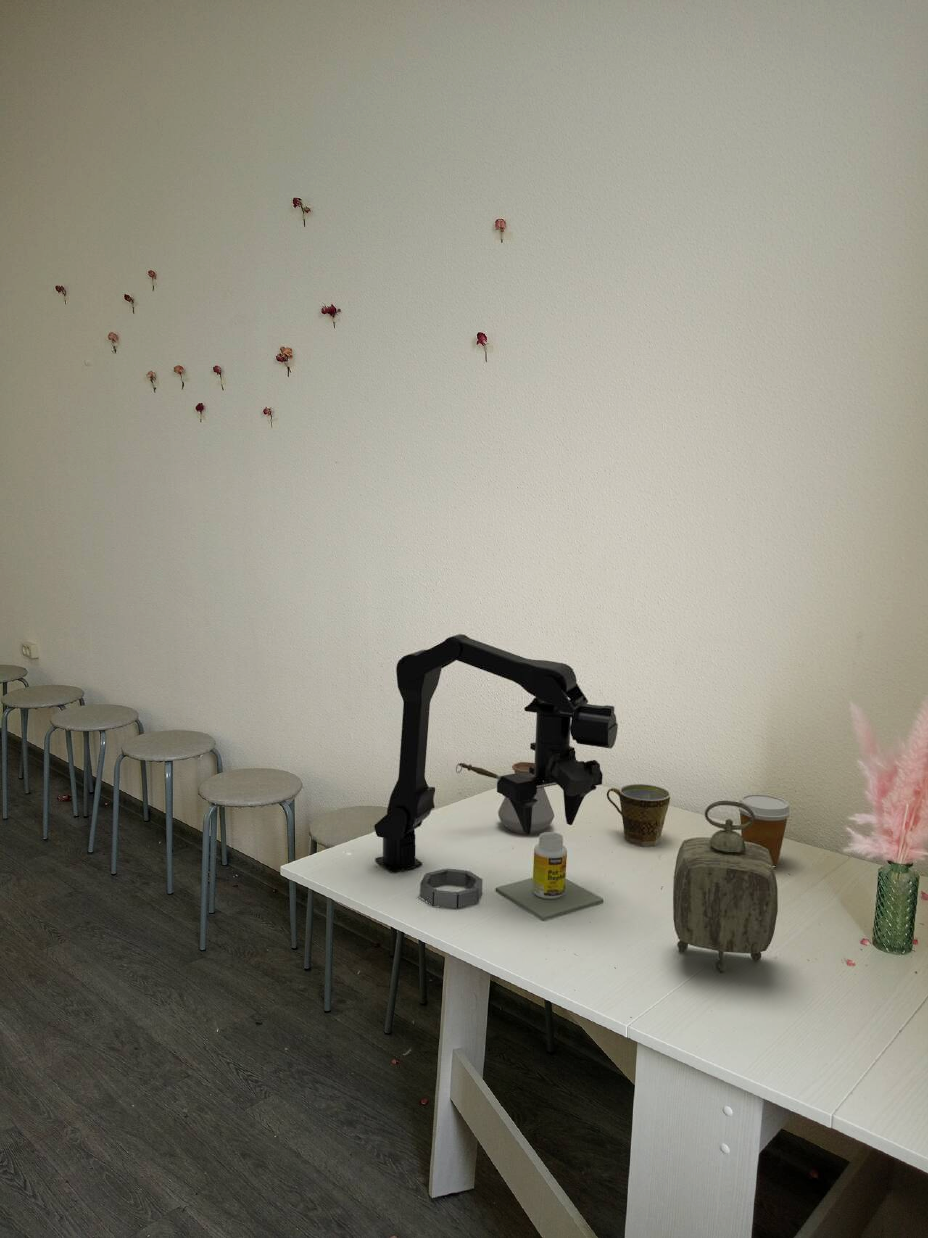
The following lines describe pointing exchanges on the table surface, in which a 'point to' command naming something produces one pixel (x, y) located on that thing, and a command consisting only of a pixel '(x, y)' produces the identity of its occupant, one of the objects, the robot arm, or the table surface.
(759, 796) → the disposable coffee cup
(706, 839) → the tabletop clock
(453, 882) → the collar
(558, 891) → the supplement bottle
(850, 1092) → the table surface
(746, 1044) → the table surface
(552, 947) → the table surface
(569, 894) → the mat
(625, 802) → the ceramic cup
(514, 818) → the grey turkish cezve
